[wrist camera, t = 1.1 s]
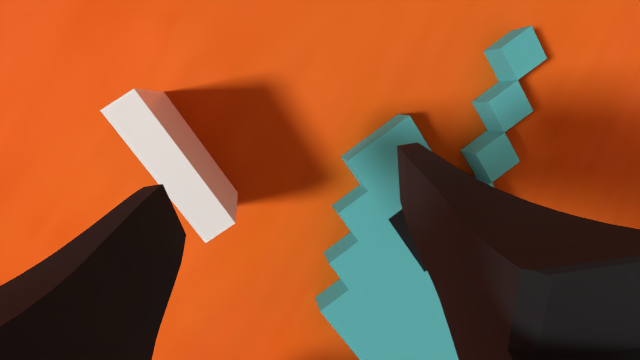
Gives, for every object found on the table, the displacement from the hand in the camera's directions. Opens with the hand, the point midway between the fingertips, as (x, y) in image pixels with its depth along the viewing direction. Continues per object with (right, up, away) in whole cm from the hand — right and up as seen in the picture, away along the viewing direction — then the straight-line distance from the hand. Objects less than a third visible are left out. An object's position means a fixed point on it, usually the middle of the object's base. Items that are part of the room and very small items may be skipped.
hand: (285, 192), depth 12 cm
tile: (-6, +2, +10) cm, 12 cm away
